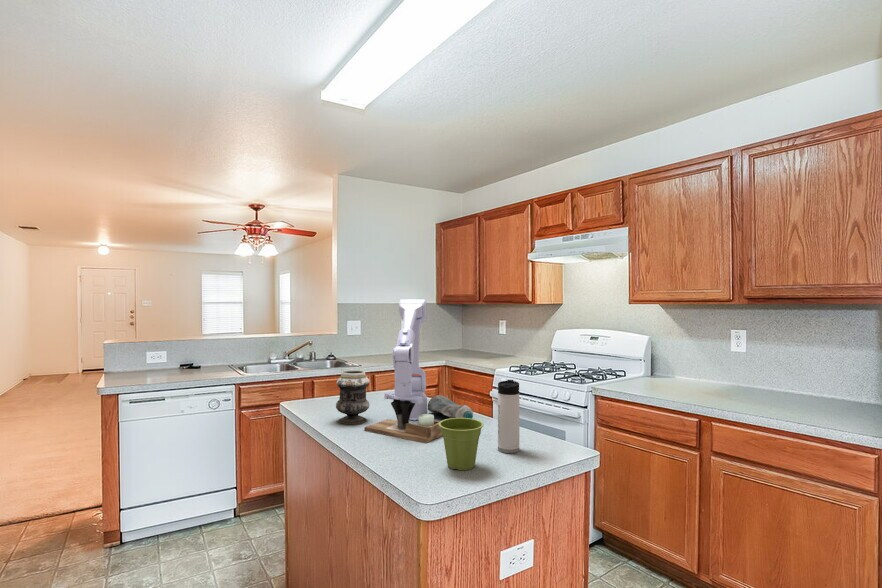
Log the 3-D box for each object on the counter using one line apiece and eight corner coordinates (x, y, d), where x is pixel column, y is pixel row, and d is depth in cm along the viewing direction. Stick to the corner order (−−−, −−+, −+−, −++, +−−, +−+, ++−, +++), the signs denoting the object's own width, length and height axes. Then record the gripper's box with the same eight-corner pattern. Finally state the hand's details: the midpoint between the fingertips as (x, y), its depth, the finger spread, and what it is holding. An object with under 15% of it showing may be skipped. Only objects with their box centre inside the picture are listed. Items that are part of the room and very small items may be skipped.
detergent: (422, 413, 180) (451, 428, 157) (423, 394, 181) (452, 406, 158) (452, 412, 186) (484, 426, 163) (453, 394, 186) (485, 406, 163)
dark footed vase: (366, 425, 162) (366, 373, 162) (332, 425, 162) (332, 373, 162) (372, 416, 174) (372, 368, 174) (339, 416, 174) (340, 368, 175)
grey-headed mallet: (405, 425, 157) (405, 410, 157) (436, 430, 150) (436, 415, 150) (396, 428, 153) (396, 413, 153) (428, 434, 146) (428, 418, 146)
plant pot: (429, 466, 123) (429, 423, 123) (460, 455, 131) (460, 415, 131) (462, 478, 114) (462, 432, 114) (492, 466, 123) (492, 423, 123)
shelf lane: (387, 422, 166) (387, 410, 166) (446, 433, 152) (446, 420, 152) (364, 430, 156) (364, 418, 156) (425, 443, 142) (425, 429, 142)
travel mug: (521, 447, 138) (521, 380, 138) (517, 454, 132) (517, 383, 132) (500, 445, 140) (500, 379, 140) (495, 452, 134) (495, 382, 134)
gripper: (378, 381, 155) (378, 422, 155) (413, 386, 147) (413, 429, 147) (391, 378, 161) (391, 417, 161) (426, 382, 153) (426, 424, 153)
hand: (403, 422), depth 155 cm, fingers closed on grey-headed mallet, 2 cm apart
